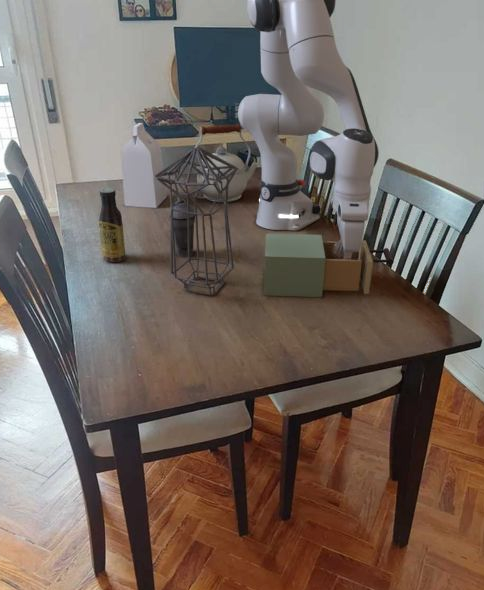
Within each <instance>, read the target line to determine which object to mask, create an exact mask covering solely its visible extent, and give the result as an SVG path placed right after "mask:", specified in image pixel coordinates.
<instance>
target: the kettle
mask: <svg viewBox="0 0 484 590" xmlns="http://www.w3.org/2000/svg"><path fill="white" fill-rule="evenodd" d="M199 129H200V130H199V133H200V135H199V136H200V137H199V139H198V141H197V143H196V145H195V146H193V148H199V145H200V144H201V143H202V141H203V136H205V135H206V134H211V135H217V134H230V133H234V132H237V133H239V134H238V135H239V138H240V139H241V141H243V143H244V144H245V145H246V148H247V150H248V154H247V159H246V161H245V163H244V162H243V160H242V158H241V157H239V156H238V155H236V154H233V153H230V152H228V150H227V148H225V146H222V145H220V146H218V147H217V148H216V150H215V152H213V153H211V154H213V155H215V156H217V157H219V158H221V159H222V160H224V161H226V162H228V163H230V164H232V165H234V166H236V167H237V168H239V169H237V171H236V173H235V175H234V176H233V178H232V180H231V181H230V183H229V185H228V203H230V202H235V201H238V200H240V199H241V198H242V194H243V193H244V191H245V190H246V188H247V185H248V182H249V181H250V180H251V178H252V177H253V175H254V173H255V171H256V169H257V167H258V165H259V163H258V162H256V161H255V162H252V164H251V165H250V166H248V164H249V162H250V159H251V153H252V152H251V148H250V146H249V144H248V143H247V142H246V140H245V139H244V138H243V136H242V126H241V124H240V123H237V124H235V125H233V124H225V125H223V124H222V125H221V124H220V125H211V126H207V127H206V126H199ZM206 156H207V155H206ZM207 157H208V158H209V159H210V160H211V161H212V162H213V163H214V164H215V165H216V166H217V167H221V166H227V165H225V164H223V163H221V162H219V161H217V160H215V159H213V158H211V157H209V156H207ZM201 160H202V159H201ZM202 162H203V160H202ZM193 163H195V161H194V162H193ZM208 163H209V162H208ZM209 164H210V163H209ZM203 165H204V166H206V165H205V163H204V162H203ZM193 166H195V165H193ZM210 166H211V167H213V166H212V165H211V164H210ZM195 167H196V168H197V169H198V170H199V171H201V172H202V170H201V167H199V166H195ZM228 169H229V168H227V169H220V171H221V172H222V173H224V172H225V171H227V170H228ZM233 170H234V169H232V170H231V171H229V172H228V173H227V174H225V176H227V175H229V174H230V173H231V172H232V171H233ZM205 171H206V174H207V173H208V169H207V168H205ZM214 172H215V173H216V175H218V171H217V170H214ZM202 173H203V172H202ZM193 174H194V175H196V183H202V182H203V181H204V179H205V178H204V177H203V176H202V175H201V174H200V173H198V172H197V171H196V170H195V171H194V172H193ZM212 174H213V173H212ZM220 175H221V174H220V173H219V176H220ZM213 176H214V175H213ZM209 177H210V178H213V177H212V175H211V173H210V171H209ZM230 177H231V176H230ZM230 177H229V179H230ZM214 178H215V176H214ZM215 179H216V178H215ZM221 181H222V185H223V188H224V187H225V185H226V184H227V180H226V179H223V180H221ZM209 182H210V184H213V182H214V181H212V180H209ZM205 183H206V181H205ZM217 183H218V185H219V188H220V190H221V183H219V182H217ZM199 187H200V186H197V188H199ZM217 187H218V186H217ZM200 192H201V193H202V194H203V196H202V197H207V198H215V199H216V197H217V195H218V191H217V190H216V188H215V186H214V185H208V186H206V187H205V188H203V189H201V190H200ZM222 195H223V197H224V200H226V189H225V190H224V191H223V193H222ZM217 199H222V200H223V198H222V196H221V194H219V196H218V198H217ZM206 200H207V201H210V202H214V201H215V200H211V199H206ZM215 203H224V201H218V200H216V202H215Z"/></svg>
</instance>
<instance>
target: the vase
mask: <svg viewBox="0 0 484 590" xmlns="http://www.w3.org/2000/svg"><path fill="white" fill-rule="evenodd" d="M335 242H336V244H335V245H334V247H333V250H332V259H343V257H344V249H343V244H342V240H341V237H340V238H339V239H338V240H337V241H335ZM359 257H360V250H359V251H358V252H353V253H352V256H351V260H359Z"/></svg>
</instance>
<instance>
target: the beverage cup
mask: <svg viewBox="0 0 484 590" xmlns="http://www.w3.org/2000/svg"><path fill="white" fill-rule="evenodd" d="M177 190H178V191H179V189H178V187H177ZM180 199H181V198H180V196H178V198H177V200H176V203H177V202H179V201H181V200H180ZM176 203H175V204H176ZM173 209H175V210H181V211H187V200H184V201H182V202H180V203H179V204H177V205H176V206H174V207H173ZM189 210H190V212H194V213H195V208H194V207H193V206H192V204H191V203H190V202H189ZM169 220H170V221H171V216H170V214H169ZM173 221H174V239H175V251H176V254H177V256H178V257H182V258H188V217H187V213H183V212H177V211H173ZM195 222H196V221H195V214H190V257H191V256H193V254H194V234H195V233H194V232H195Z"/></svg>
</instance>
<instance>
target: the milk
mask: <svg viewBox="0 0 484 590" xmlns="http://www.w3.org/2000/svg"><path fill="white" fill-rule="evenodd" d="M120 159H121V172H122V173H121V174H122V187H123V188H122V189H123V201H124V207H135V208H136V207H137V208H152V209H157V208H158V207H159V206H160V205H161V204H162V203H163V202H164V201H165V200H166V198H167V189H166V186H165V185H163V184H162V183H161V182H160V181H158V180H157V179H156V178H155V175H156V174H157V173H159V172H160V171H162V170H163V169H164V165H163V157H162V149H161V145H160V143H158V141H157V140H156V139H154V138H153V136H152V135H151V134H150V133H148V131H146V128H145V125H144V123H143V122H138V123H137V124H135V125H133V126H132V137H131V138H130V139H129V140H128V141H127V142H126V143H125V144H124V146H123V147H122V149H121V151H120ZM161 177H162V178H165V175H164V176H161ZM163 182H164V181H163Z"/></svg>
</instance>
